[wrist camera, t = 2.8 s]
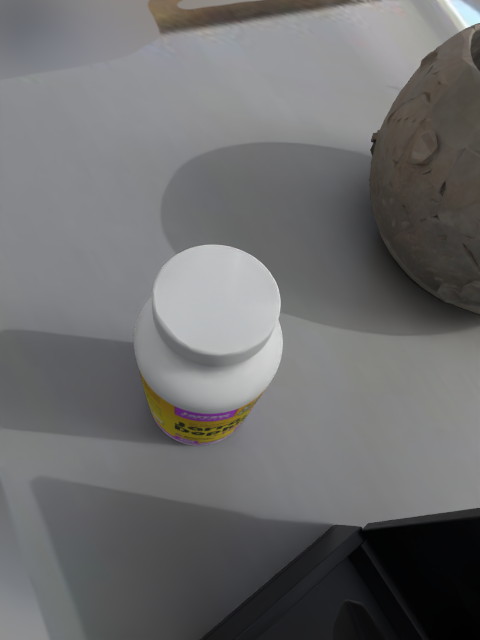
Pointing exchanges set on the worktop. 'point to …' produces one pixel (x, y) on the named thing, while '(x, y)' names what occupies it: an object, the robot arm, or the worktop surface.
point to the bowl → (434, 173)
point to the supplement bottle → (208, 342)
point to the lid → (435, 568)
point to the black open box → (324, 595)
